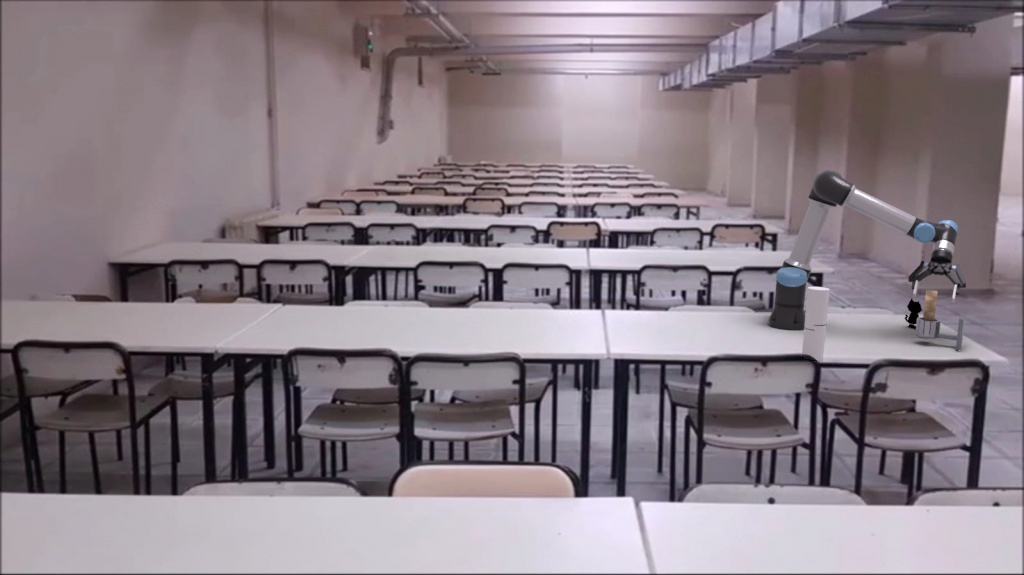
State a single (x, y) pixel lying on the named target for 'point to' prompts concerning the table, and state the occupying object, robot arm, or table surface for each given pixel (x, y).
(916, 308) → the cat figurine
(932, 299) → the brown wooden block
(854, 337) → the table surface
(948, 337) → the cup bracket
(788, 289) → the robot arm
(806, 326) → the cylindrical container
